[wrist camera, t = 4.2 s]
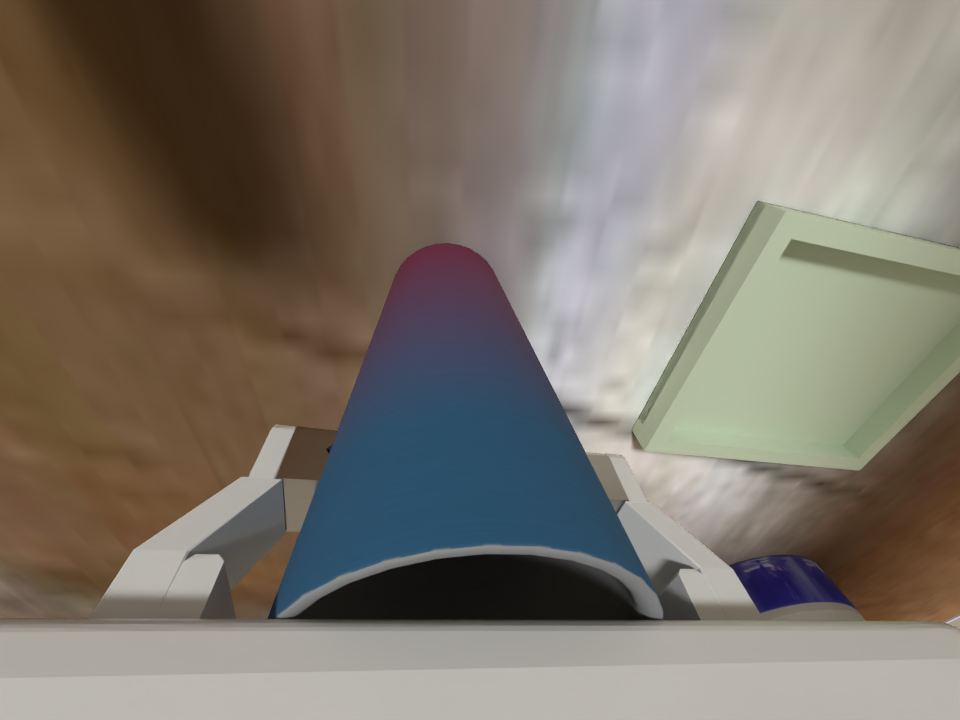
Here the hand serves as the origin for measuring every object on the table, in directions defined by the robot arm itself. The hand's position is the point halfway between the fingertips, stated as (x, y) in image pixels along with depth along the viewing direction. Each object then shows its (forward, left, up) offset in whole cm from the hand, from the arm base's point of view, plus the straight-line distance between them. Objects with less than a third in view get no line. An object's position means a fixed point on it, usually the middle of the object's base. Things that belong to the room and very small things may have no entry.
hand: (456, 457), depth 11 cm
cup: (0, 0, -11) cm, 11 cm away
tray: (0, +21, -10) cm, 23 cm away
